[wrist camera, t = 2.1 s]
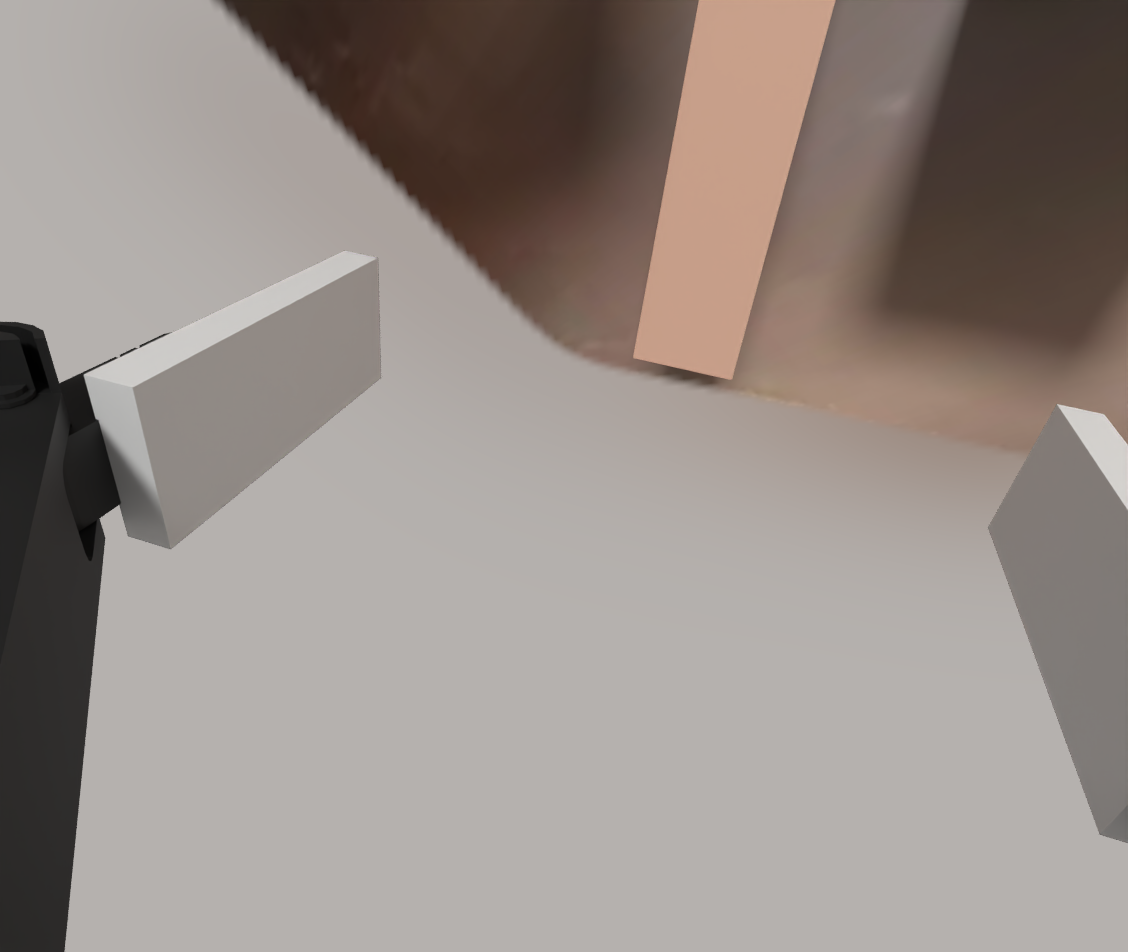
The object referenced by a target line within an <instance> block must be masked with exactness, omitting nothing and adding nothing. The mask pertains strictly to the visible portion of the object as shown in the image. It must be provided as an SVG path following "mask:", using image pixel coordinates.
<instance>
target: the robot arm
mask: <svg viewBox="0 0 1128 952" xmlns="http://www.w3.org/2000/svg"><path fill="white" fill-rule="evenodd" d="M378 276H379V274H378V257H373V256H368V255H363V254H358V253H354V252H349V251H342V252H340V253H338V254H336V255H334V256H332V257H330V258H328V259H325V260H323V261H321V262H320V263H317V264H315V265H313V266H311V267H309V268H307V269H305V270H302V271H300V272H298V273H296V274H294V275H292V276H290V277H288V278H286V279H283V280H282V281H279V282H277V283H275V284H273V285H271V286H269V287H267V288H265V289H262V290H261V291H258V292H256V293H254V294H252V295H250V296H248V297H246V298H243V299H241V300H239V301H237V302H235V303H233V304H231V305H229V306H227V307H225V308H223V309H220V310H218V311H216V312H214V313H212V314H210V315H208V316H206V317H204V318H201V319H199V320H197V321H195V322H193V323H191V324H189V325H187V326H185V327H183V328H180V329H178V330H176V331H174V332H171V333H167V334H163V335H161V336H159V337H157V338H155V339H153V340H151V341H148V342H146V343H144V344H142V345H140V348H139V349H137V348H134V349H131V350H129V351H127V352H125V353H123V354H121V355H120V357H119V358H116V357H114V358H112V359H110V360H108V361H106V362H104V363H102V364H100V365H98V366H96V367H93V368H91V369H89V370H87V371H85V372H83V373H81V374H78V375H76V376H74V377H72V378H70V379H68V380H66V381H64V382H61V383H59V382H58V378H57V375H56V372H55V369H54V365H53V361H52V358H51V355H50V351H49V348H48V345H47V341H46V338H45V335H44V332H43V330H41V329H39V328H37V327H35V326H33V325H28V324H23V323H18V322H0V952H64V950H65V940H66V929H67V920H68V910H69V900H70V899H69V898H70V889H71V879H72V869H73V858H74V848H75V839H76V828H77V818H78V807H79V798H80V788H81V778H82V768H83V757H84V746H85V737H86V727H87V717H88V706H89V696H90V686H91V676H92V666H93V656H94V646H95V635H96V625H97V616H98V605H99V595H100V585H101V575H102V565H103V554H104V545H105V536H104V532H103V529H102V526H101V522H100V519H99V518H101V517H102V516H103V515H105V514H106V513H108V512H109V511H111V510H112V509H114V508H115V507H116V506H118V505H120V509H121V512H122V516H123V520H124V523H125V527H126V530H127V534H128V536H129V537H133V538H136V539H139V540H143V541H146V542H149V543H152V544H155V545H159V546H162V547H165V548H169V549H172V548H173V547H174V546H175V545H177V544H178V543H179V542H180V541H181V540H183V539H184V538H185V537H186V536H188V535H189V534H190V533H191V532H193V531H194V530H195V529H196V528H197V527H198V526H200V525H201V524H202V523H203V522H205V521H206V520H207V519H209V518H210V517H211V516H212V515H213V514H215V513H216V512H217V511H218V510H220V509H221V508H222V507H223V506H225V505H226V504H227V503H228V502H229V501H230V500H232V499H233V498H234V497H235V496H237V495H238V494H239V493H240V492H242V491H243V490H244V489H245V488H246V487H248V486H249V485H250V484H251V483H253V482H254V481H255V480H256V479H258V478H259V477H260V476H261V475H263V474H264V473H265V472H266V471H267V470H269V469H270V468H271V467H272V466H274V465H275V464H276V463H277V462H278V461H280V460H281V459H282V458H283V457H285V456H286V455H287V454H288V453H289V452H291V451H292V450H293V449H294V448H296V447H297V446H298V445H299V444H301V443H302V442H303V441H304V440H305V439H307V438H308V437H309V436H310V435H311V434H313V433H314V432H315V431H316V430H318V429H319V428H320V427H321V426H323V425H324V424H325V423H326V422H328V421H329V420H330V419H331V418H332V417H334V416H335V415H336V414H337V413H339V412H340V411H341V410H342V409H343V408H345V407H346V406H347V405H348V404H350V403H351V402H352V401H353V400H354V399H356V398H357V397H358V396H359V395H360V394H362V393H363V392H364V391H366V390H367V389H368V388H369V387H370V386H372V385H373V384H374V383H375V382H377V381H378V380H379V379H380V378H381V359H380V358H381V355H380V314H379V277H378ZM988 529H989V532H990V535H991V537H992V540H993V543H994V546H995V548H996V551H997V554H998V556H999V559H1000V562H1001V565H1002V568H1003V570H1004V573H1005V576H1006V579H1007V581H1008V584H1009V587H1010V589H1011V592H1012V595H1013V597H1014V600H1015V603H1016V606H1017V608H1018V611H1019V614H1020V617H1021V619H1022V622H1023V625H1024V628H1025V631H1026V633H1027V636H1028V639H1029V642H1030V644H1031V647H1032V650H1033V653H1034V655H1035V658H1036V661H1037V663H1038V666H1039V669H1040V672H1041V675H1042V677H1043V680H1044V683H1045V686H1046V688H1047V691H1048V694H1049V697H1050V699H1051V702H1052V705H1053V708H1054V710H1055V713H1056V716H1057V719H1058V721H1059V724H1060V726H1061V729H1062V732H1063V735H1064V738H1065V741H1066V743H1067V746H1068V749H1069V752H1070V754H1071V757H1072V760H1073V763H1074V765H1075V768H1076V771H1077V773H1078V776H1079V779H1080V782H1081V785H1082V787H1083V790H1084V793H1085V795H1086V798H1087V801H1088V804H1089V807H1090V809H1091V812H1092V815H1093V817H1094V820H1095V823H1096V826H1097V828H1098V831H1099V834H1100V835H1103V836H1106V837H1109V838H1113V839H1116V840H1119V841H1122V842H1126V843H1128V445H1127V443H1126V442H1125V441H1124V440H1123V438H1122V437H1121V436H1120V434H1119V433H1118V432H1117V431H1116V429H1115V428H1114V427H1113V425H1112V424H1111V423H1110V421H1109V420H1108V419H1107V418H1106V416H1105V415H1104V414H1100V413H1096V412H1091V411H1086V410H1082V409H1077V408H1072V407H1068V406H1063V405H1059V404H1057V405H1056V407H1055V409H1054V410H1053V412H1052V414H1051V416H1050V417H1049V419H1048V421H1047V423H1046V425H1045V426H1044V428H1043V430H1042V432H1041V434H1040V435H1039V437H1038V439H1037V441H1036V442H1035V444H1034V446H1033V448H1032V450H1031V451H1030V453H1029V455H1028V457H1027V459H1026V460H1025V462H1024V464H1023V466H1022V468H1021V470H1020V471H1019V473H1018V475H1017V476H1016V478H1015V480H1014V482H1013V484H1012V485H1011V487H1010V489H1009V491H1008V493H1007V494H1006V496H1005V498H1004V500H1003V502H1002V503H1001V505H1000V507H999V509H998V510H997V512H996V514H995V516H994V518H993V519H992V521H991V523H990V525H989V526H988Z"/></svg>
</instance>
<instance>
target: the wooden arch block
mask: <svg viewBox="0 0 1128 952" xmlns="http://www.w3.org/2000/svg"><path fill="white" fill-rule="evenodd" d="M834 4H835V0H699V3H698V8H697V14H696V19H695V25H694V30H693V35H692V41H691V46H690V52H689V57H688V63H687V68H686V74H685V79H684V84H683V90H682V95H681V101H680V106H679V112H678V117H677V122H676V128H675V133H674V139H673V144H672V150H671V155H670V160H669V166H668V171H667V177H666V182H665V188H664V193H663V198H662V204H661V209H660V215H659V220H658V226H657V231H656V237H655V242H654V247H653V253H652V258H651V264H650V269H649V275H648V280H647V285H646V291H645V296H644V302H643V307H642V313H641V318H640V323H639V329H638V334H637V340H636V345H635V351H634V356H633V358H636V359H640V360H645V361H649V362H654V363H658V364H662V365H667V366H671V367H676V368H680V369H685V370H689V371H694V372H698V373H703V374H707V375H711V376H716V377H720V378H725V379H729V380H732V377H733V374H734V370H735V366H736V363H737V359H738V355H739V352H740V348H741V344H742V341H743V337H744V333H745V330H746V326H747V322H748V319H749V315H750V311H751V308H752V304H753V301H754V297H755V293H756V290H757V286H758V282H759V279H760V275H761V271H762V268H763V264H764V260H765V257H766V253H767V249H768V246H769V242H770V238H771V235H772V231H773V227H774V224H775V220H776V216H777V213H778V209H779V205H780V202H781V198H782V194H783V191H784V187H785V183H786V180H787V176H788V172H789V169H790V165H791V161H792V158H793V154H794V150H795V147H796V143H797V139H798V136H799V132H800V128H801V125H802V121H803V117H804V114H805V110H806V106H807V103H808V99H809V95H810V92H811V88H812V84H813V81H814V77H815V73H816V70H817V66H818V62H819V59H820V55H821V51H822V48H823V44H824V41H825V37H826V33H827V30H828V26H829V22H830V19H831V15H832V11H833V8H834Z"/></svg>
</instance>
